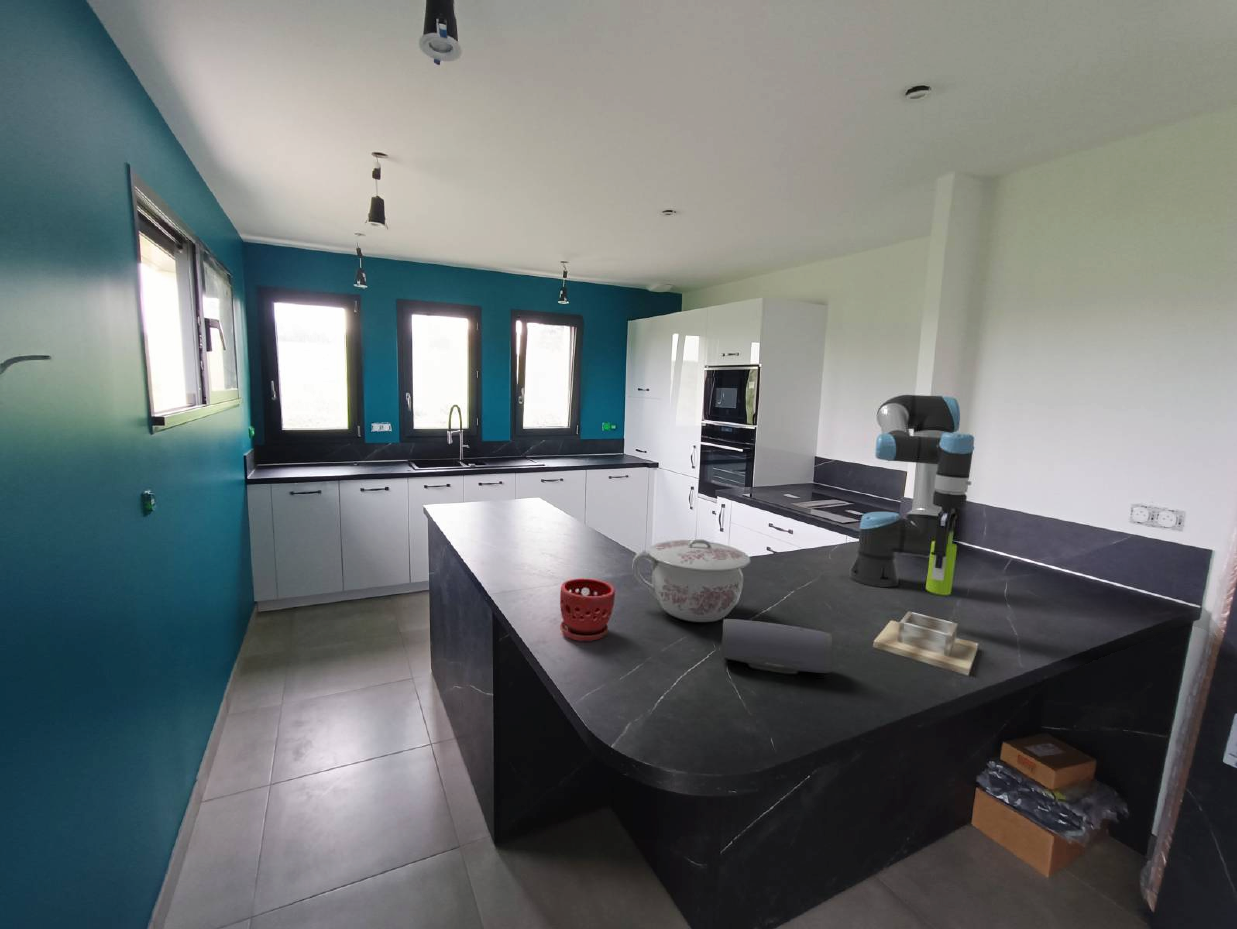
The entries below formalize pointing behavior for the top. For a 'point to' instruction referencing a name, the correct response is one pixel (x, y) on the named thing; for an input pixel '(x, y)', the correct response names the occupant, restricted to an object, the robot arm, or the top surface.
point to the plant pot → (586, 609)
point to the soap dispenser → (946, 584)
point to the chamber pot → (694, 578)
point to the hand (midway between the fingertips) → (939, 576)
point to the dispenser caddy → (928, 642)
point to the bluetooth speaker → (776, 646)
